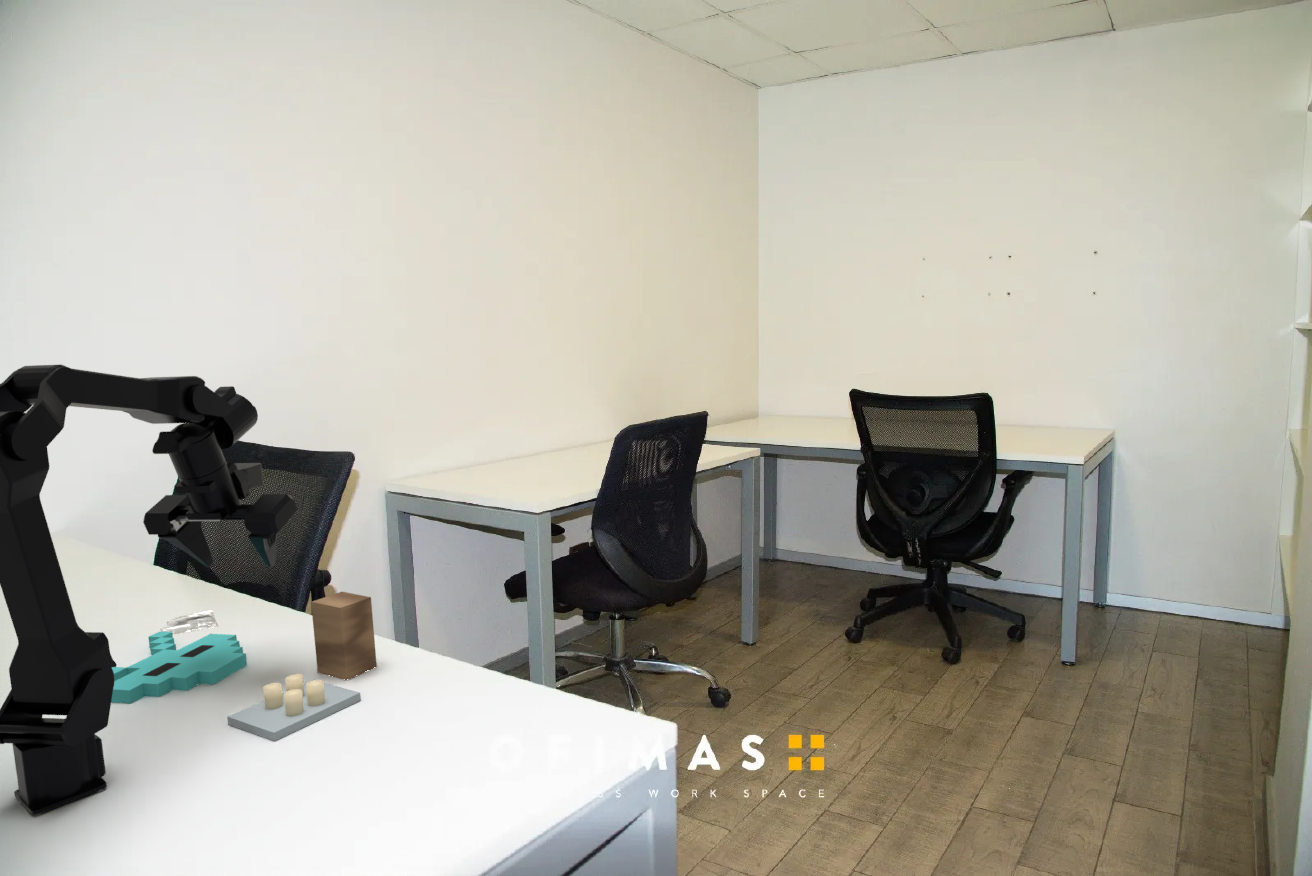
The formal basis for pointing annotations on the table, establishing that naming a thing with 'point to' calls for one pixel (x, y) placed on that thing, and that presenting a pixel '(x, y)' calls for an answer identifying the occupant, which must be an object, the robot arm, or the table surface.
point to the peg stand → (292, 707)
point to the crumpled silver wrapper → (190, 623)
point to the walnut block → (344, 635)
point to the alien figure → (178, 666)
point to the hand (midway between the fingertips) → (241, 565)
